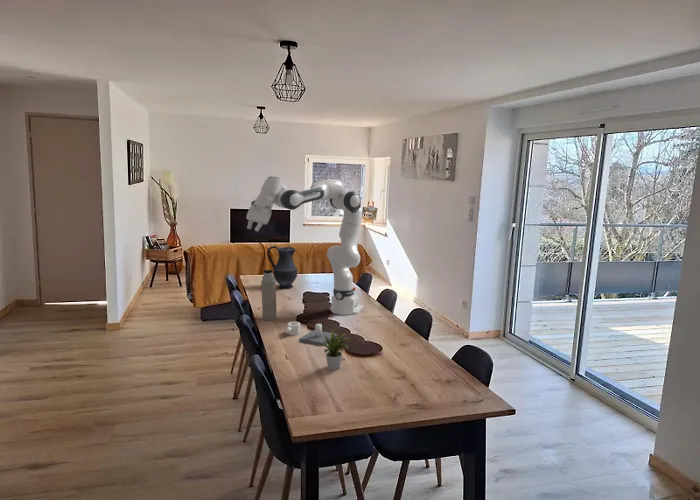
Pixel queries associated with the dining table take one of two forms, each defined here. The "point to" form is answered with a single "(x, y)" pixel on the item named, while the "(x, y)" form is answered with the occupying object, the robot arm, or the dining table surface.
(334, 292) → the robot arm
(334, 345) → the house plant
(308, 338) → the duct plate
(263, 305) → the thermos bottle
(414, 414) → the dining table surface
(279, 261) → the pitcher
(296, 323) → the collar
